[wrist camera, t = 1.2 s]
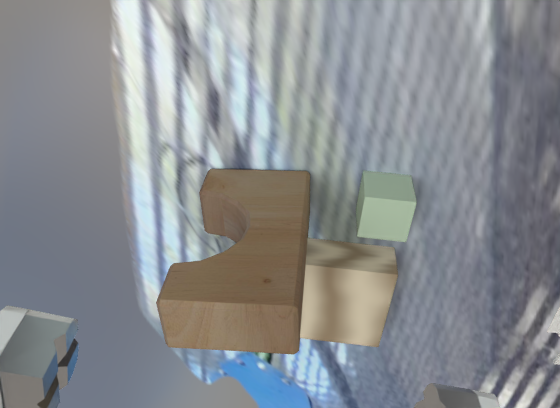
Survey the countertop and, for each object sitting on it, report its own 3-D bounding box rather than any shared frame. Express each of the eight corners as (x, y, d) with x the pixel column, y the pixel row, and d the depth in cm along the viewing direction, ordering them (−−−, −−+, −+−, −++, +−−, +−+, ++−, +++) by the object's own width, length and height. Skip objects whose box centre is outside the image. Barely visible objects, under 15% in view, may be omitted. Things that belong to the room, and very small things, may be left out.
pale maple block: (394, 245, 60) (398, 274, 56) (375, 316, 67) (378, 347, 63) (291, 234, 60) (287, 262, 56) (283, 305, 67) (280, 335, 63)
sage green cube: (410, 175, 54) (416, 202, 50) (401, 213, 57) (406, 242, 53) (363, 170, 54) (365, 196, 50) (355, 208, 57) (357, 236, 53)
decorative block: (212, 208, 59) (164, 349, 42) (208, 165, 55) (153, 300, 39) (309, 213, 58) (298, 359, 42) (311, 169, 55) (299, 309, 38)
